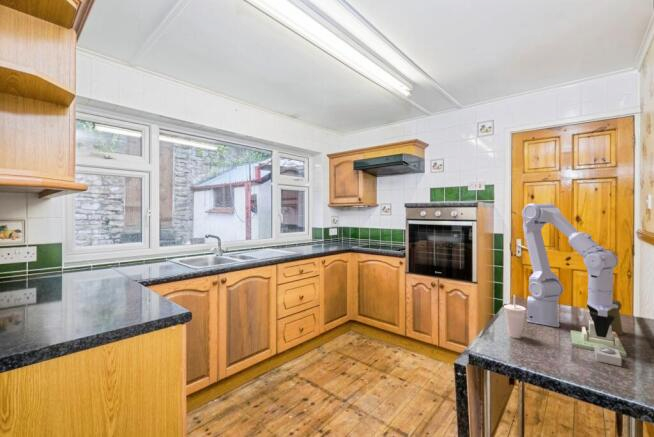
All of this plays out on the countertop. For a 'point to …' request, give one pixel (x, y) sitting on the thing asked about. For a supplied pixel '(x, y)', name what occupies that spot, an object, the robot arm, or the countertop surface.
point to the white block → (593, 333)
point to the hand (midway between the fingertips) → (599, 332)
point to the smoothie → (514, 319)
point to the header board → (595, 341)
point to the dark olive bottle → (616, 318)
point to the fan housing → (607, 355)
